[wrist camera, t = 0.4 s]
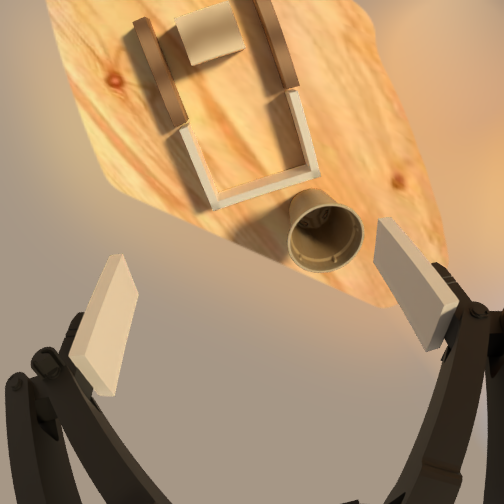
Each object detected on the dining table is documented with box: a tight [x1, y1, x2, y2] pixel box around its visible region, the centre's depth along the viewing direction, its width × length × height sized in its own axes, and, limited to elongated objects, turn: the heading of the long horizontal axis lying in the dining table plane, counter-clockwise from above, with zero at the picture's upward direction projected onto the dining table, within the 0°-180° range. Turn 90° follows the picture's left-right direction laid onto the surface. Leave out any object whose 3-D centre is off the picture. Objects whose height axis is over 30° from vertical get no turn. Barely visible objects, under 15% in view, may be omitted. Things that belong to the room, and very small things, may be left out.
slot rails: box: [133, 0, 300, 127], centre depth 31 cm, size 14×15×2 cm
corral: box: [179, 89, 321, 211], centre depth 38 cm, size 11×14×3 cm
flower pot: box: [287, 189, 364, 273], centre depth 41 cm, size 9×9×9 cm
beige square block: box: [174, 0, 246, 66], centre depth 29 cm, size 6×6×4 cm
